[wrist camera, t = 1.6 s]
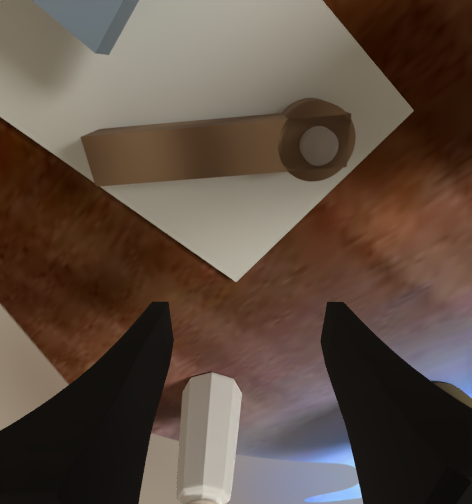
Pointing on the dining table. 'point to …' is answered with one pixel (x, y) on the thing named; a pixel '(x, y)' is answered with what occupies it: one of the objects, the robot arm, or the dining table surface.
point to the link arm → (226, 146)
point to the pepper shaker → (208, 439)
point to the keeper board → (191, 99)
